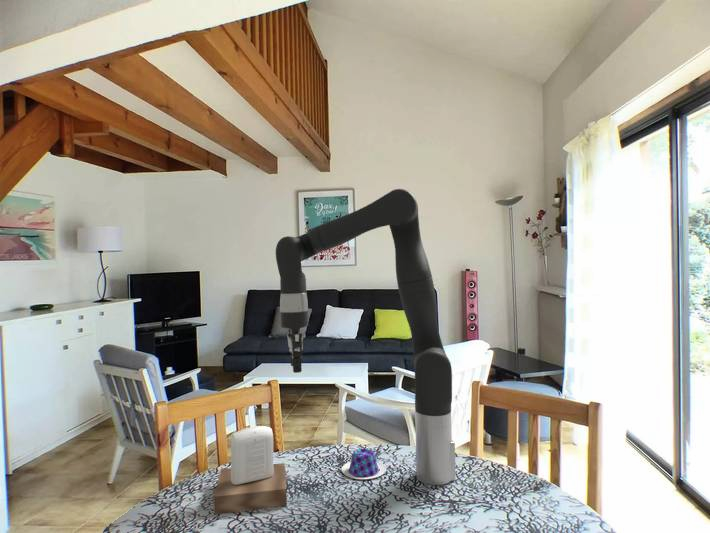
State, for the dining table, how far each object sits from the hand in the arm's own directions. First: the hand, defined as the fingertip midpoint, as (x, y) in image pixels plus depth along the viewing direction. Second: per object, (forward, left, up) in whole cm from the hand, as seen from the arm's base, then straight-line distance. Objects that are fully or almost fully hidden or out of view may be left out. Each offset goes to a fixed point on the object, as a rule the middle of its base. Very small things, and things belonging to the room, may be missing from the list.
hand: (296, 368), depth 122 cm
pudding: (-17, +5, -28) cm, 33 cm away
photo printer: (+11, +12, -23) cm, 29 cm away
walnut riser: (+12, +12, -27) cm, 32 cm away
